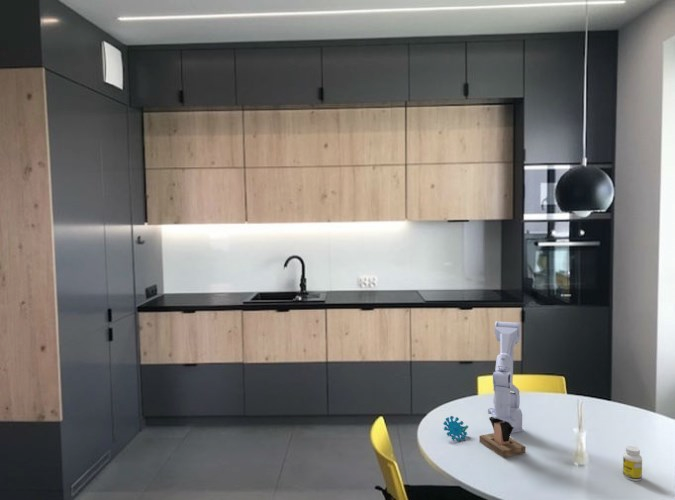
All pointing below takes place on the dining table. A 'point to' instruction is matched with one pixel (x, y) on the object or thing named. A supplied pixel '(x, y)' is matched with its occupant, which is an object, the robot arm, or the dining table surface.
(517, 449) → the socket block
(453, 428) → the gear
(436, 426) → the dining table surface
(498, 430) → the peg
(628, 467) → the supplement bottle
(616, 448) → the dining table surface
